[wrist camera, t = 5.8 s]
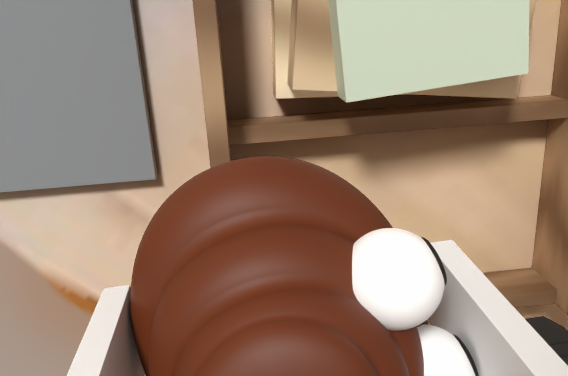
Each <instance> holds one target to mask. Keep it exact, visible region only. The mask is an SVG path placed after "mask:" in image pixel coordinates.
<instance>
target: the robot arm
mask: <svg viewBox="0 0 568 376" xmlns="http://www.w3.org/2000/svg"><path fill="white" fill-rule="evenodd" d="M431 245H432V246H433V247H434V249H435V250H436V252H437V253H438V255H439V257H440V259H441V261H442V263H443V266H444V269H445V272H446V276H447V283H446V285H445V286H444V292H443V296H442V299H441V302H440V304H439V306H438V308H437V309H436V310H435V312H434V313H433V314H432V315H431V316H430V317H429V318H428V319H429V321H430V323H431V324H432V325H433V326H436V327H439V328H442V329H444V330H446V331H448V332H449V333H451V334H452V335H453V334H455V335H456V336H458V337H459V338H460V339H461V340H462V342H463V343H464V344H465V346H466V347H467V349H468V351H469V352H470V354H471V356H472V358H473V360H474V363H475V365H476V368H477V371H478V375H479V376H568V331H567V330H566V329H565V328H564V327H563V326H561V325H559V324H557V323H555V322H553V321H551V320H550V319H548V318H546V317H544V316H541V317H535V318H528V319H524V318H523V317H522V315H521V314H520V313H519V312H518V311H517V310H516V309H515V308H514V307H513V306H512V305H511V304H510V302H509V301H508V300H507V299H506V298H505V297H504V296H503V295H502V294H501V293H500V292H499V290H498V289H497V288H496V287H495V286H494V285H493V284H492V283H491V282H490V281H489V280H488V278H487V277H486V276H485V275H484V274H483V273H482V272H481V271H480V270H479V269H478V268H477V267H476V265H475V264H474V263H473V262H472V261H471V260H470V259H469V258H468V257H467V256H466V255H465V253H464V252H463V251H462V250H461V249H460V248H459V247H458V246H457V245H456V244H455V243H454V241H453V240H447V241H440V242H433V243H431ZM144 375H145V372H144V370H143V367H142V364H141V361H140V358H139V354H138V351H137V347H136V343H135V338H134V333H133V326H132V318H131V287H130V285H124V286H117V287H110V288H104V289H103V292H102V294H101V296H100V299H99V301H98V304H97V306H96V308H95V311H94V313H93V315H92V318H91V320H90V322H89V325H88V327H87V330H86V332H85V335H84V336H83V339H82V341H81V344H80V346H79V348H78V350H77V353H76V355H75V358H74V360H73V362H72V365H71V367H70V369H69V372H68V374H67V376H144Z"/></svg>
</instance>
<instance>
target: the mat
mask: <svg viewBox="0 0 568 376" xmlns="http://www.w3.org/2000/svg"><path fill="white" fill-rule="evenodd" d="M156 177H157V169H156V162H155V155H154V148H153V141H152V134H151V127H150V120H149V113H148V106H147V99H146V92H145V85H144V79H143V72H142V65H141V58H140V51H139V44H138V37H137V30H136V23H135V16H134V9H133V2H132V0H0V192H12V191H23V190H35V189H47V188H59V187H70V186H82V185H94V184H105V183H117V182H129V181H141V180H152V179H156Z"/></svg>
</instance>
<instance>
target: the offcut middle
mask: <svg viewBox="0 0 568 376" xmlns="http://www.w3.org/2000/svg"><path fill="white" fill-rule="evenodd" d="M535 4H536V0H530V1H529V35H530V29H531V24H532V19H533V14H534V9H535ZM521 75H522V74H521ZM521 75H515V76H509V77H503V78H496V79H490V80H484V81H478V82H472V83H465V84H459V85H453V86H447V87H440V88H434V89H428V90H422V91H416V92H409V93H403V94H415V95H439V96H464V97H489V98H513V99H517V96H518V91H519V86H520V81H521ZM287 83H288V84H289V86H290V87H291V88H292V89H293V90H317V91H337V83H336V74H335V64H334V55H333V45H332V36H331V26H330V17H329V8H328V0H292V5H291V23H290V40H289V58H288V76H287Z"/></svg>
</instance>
